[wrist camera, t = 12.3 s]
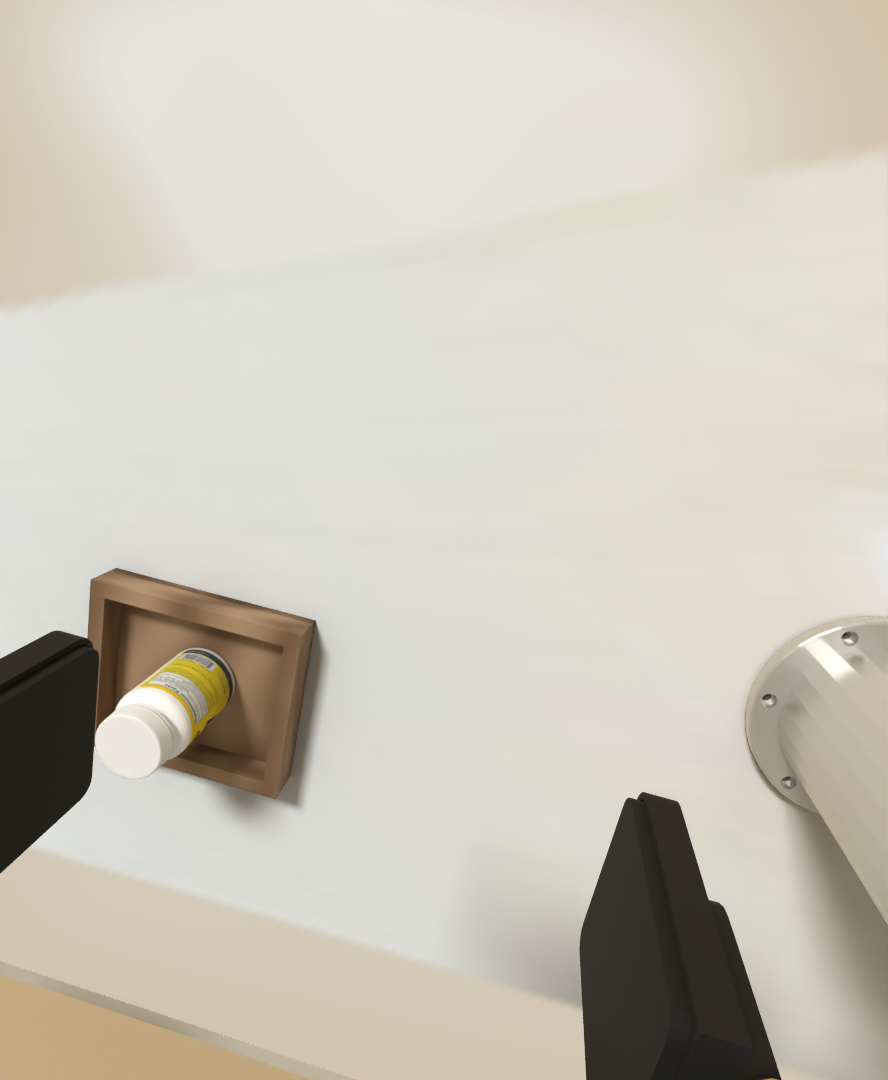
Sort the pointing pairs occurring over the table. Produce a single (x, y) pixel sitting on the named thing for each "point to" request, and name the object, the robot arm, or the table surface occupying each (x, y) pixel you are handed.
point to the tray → (235, 635)
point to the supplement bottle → (164, 713)
